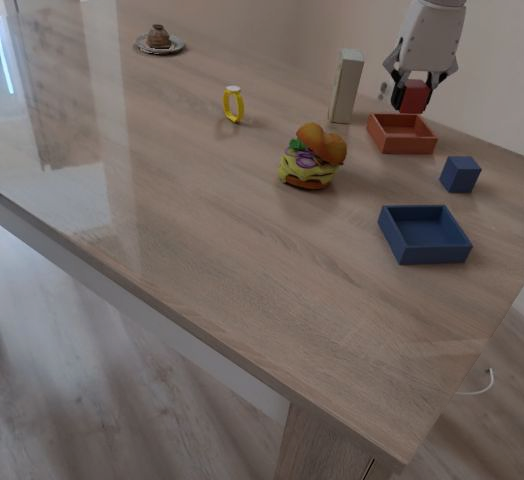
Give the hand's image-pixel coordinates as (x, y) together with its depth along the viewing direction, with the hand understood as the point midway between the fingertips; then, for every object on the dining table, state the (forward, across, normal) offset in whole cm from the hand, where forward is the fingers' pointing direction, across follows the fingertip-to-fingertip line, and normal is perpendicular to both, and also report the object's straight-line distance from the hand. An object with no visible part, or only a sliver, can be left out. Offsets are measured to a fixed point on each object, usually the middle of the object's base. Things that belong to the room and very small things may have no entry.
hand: (407, 106), depth 92 cm
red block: (0, 0, 0) cm, 0 cm away
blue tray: (+7, +8, +33) cm, 35 cm away
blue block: (+6, -5, +17) cm, 19 cm away
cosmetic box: (+7, +10, -10) cm, 16 cm away
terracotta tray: (+7, 0, 0) cm, 7 cm away
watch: (+7, +33, -8) cm, 34 cm away
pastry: (+7, +47, -47) cm, 67 cm away
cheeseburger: (+7, +22, +14) cm, 27 cm away
